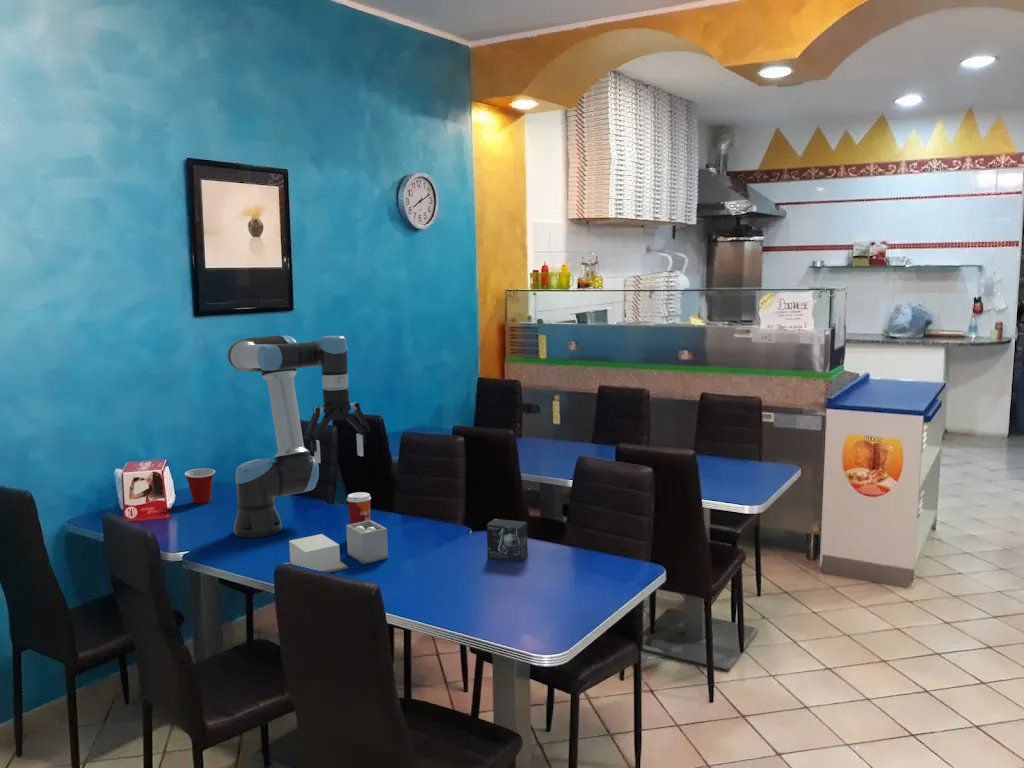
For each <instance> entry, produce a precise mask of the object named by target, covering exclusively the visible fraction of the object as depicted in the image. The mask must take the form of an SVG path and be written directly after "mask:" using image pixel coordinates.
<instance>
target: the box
mask: <svg viewBox="0 0 1024 768" xmlns="http://www.w3.org/2000/svg"><path fill="white" fill-rule="evenodd" d="M486 542H487V543H486V544H487V545H486V546H487V551H486V552H487V559H489V560H497V561H498V560H499V561H507V562H514V563H521V562H522V561H524V560H525V559H526V558H527V557H528V555H529V552H528V522H527V521H520V520H510V519H502V518H493V519H492V520H490V521H489V522H488V523H487V524H486Z"/></svg>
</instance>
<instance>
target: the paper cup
mask: <svg viewBox="0 0 1024 768" xmlns="http://www.w3.org/2000/svg"><path fill="white" fill-rule="evenodd" d="M371 500H372V497H371V494H370V493H368V492H364V491H363V492H362V491H360V492H359V491H358V492H352V493H349V494H348V495H347V498H346V501H347V506H348V514H349V517H348V518H349V524H354V523H359V522H364V521H369V520H371Z"/></svg>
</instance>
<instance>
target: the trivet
mask: <svg viewBox="0 0 1024 768" xmlns="http://www.w3.org/2000/svg"><path fill="white" fill-rule="evenodd" d="M283 564H291V563H290V561H289V562H284V563H283ZM346 569H349V566H348V565H346V564H345V563H344V562H342V561H341V560H340V568H335V569H331V570H327V571H324V572H329V573H332V572H333V573H335V572H338V571H341V570H346ZM329 573H328V574H329Z"/></svg>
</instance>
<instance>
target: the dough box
mask: <svg viewBox="0 0 1024 768" xmlns="http://www.w3.org/2000/svg"><path fill="white" fill-rule="evenodd" d="M345 526H346V527H345V528H346V529H345V530H346V531H345V532H346V548H347V555H348V556H350V557H351V558H353V559H355V560H356V561H358V562H359V563H361V564H362V565H364V564H369V563H373V562H378V561H381V560H386V559H389V549H388V547H389V546H388V542H389V541H388V529H387V527H384V526H383V525H381V524H379V523H377V522H375V521H374V520H372V519H370V520H369V521H364V522H359V523H354V524H350V523H349V524H346V525H345Z"/></svg>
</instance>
